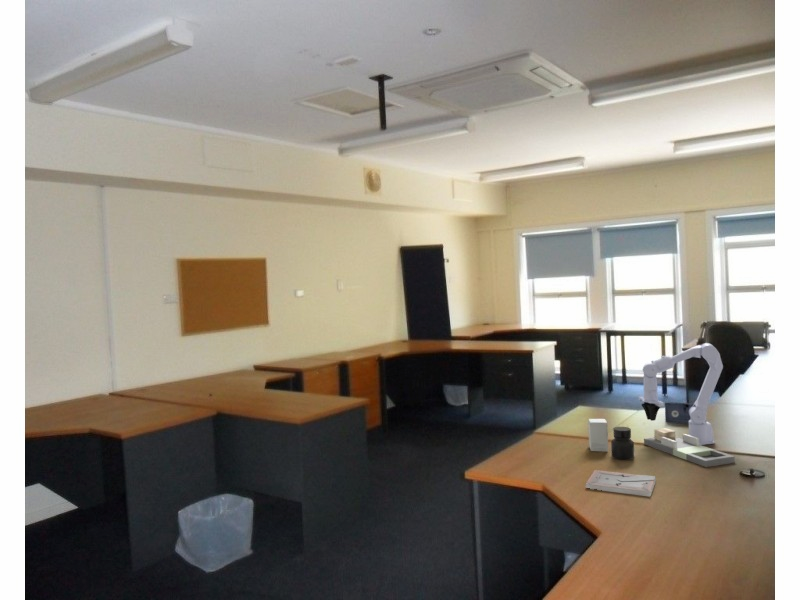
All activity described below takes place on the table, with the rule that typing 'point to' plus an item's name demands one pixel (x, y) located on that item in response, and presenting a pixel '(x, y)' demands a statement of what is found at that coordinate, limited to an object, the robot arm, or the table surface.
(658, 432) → the birch block
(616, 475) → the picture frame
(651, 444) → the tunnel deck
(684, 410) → the vhs cassette tape
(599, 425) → the supplement box
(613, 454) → the ink bottle
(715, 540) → the table surface
